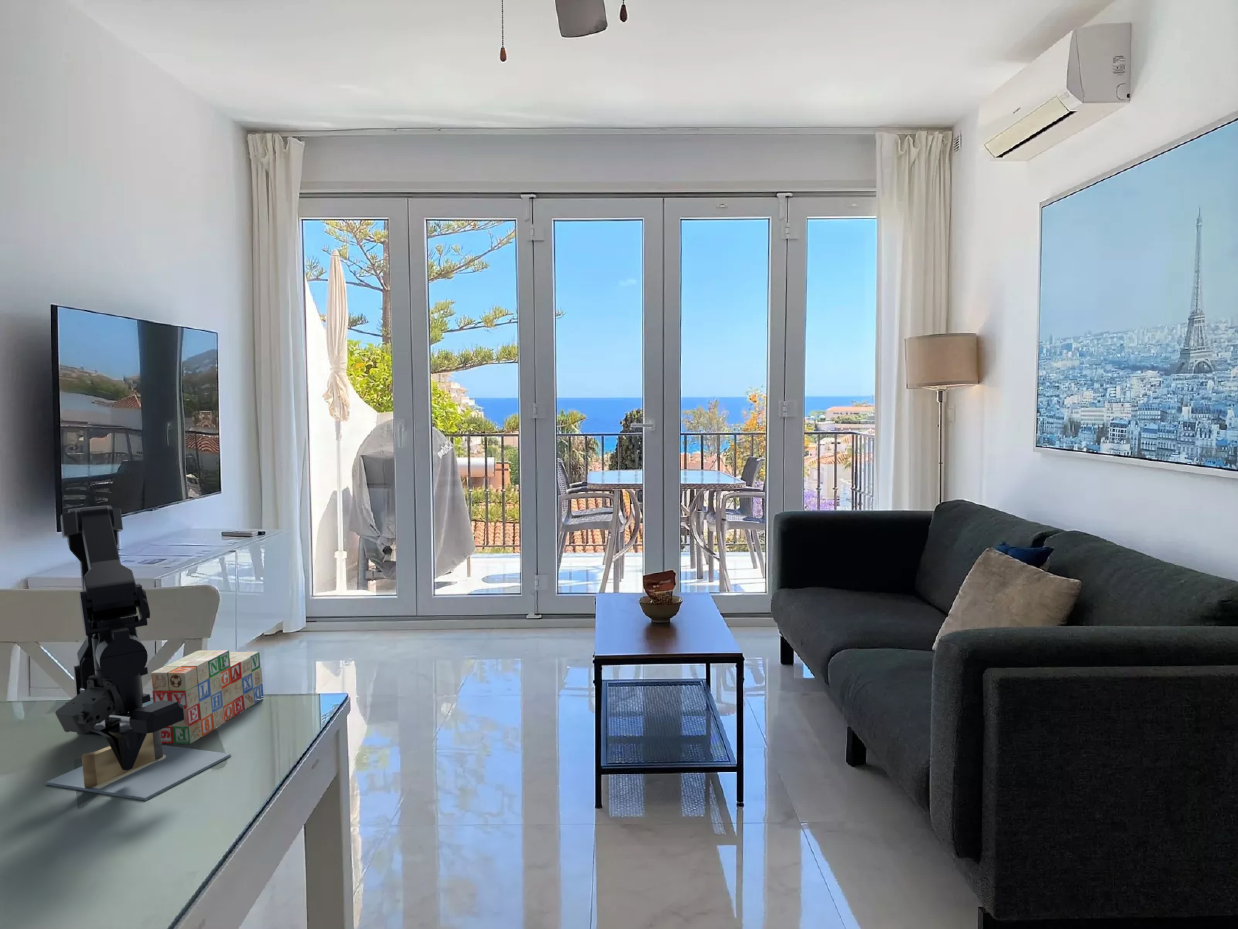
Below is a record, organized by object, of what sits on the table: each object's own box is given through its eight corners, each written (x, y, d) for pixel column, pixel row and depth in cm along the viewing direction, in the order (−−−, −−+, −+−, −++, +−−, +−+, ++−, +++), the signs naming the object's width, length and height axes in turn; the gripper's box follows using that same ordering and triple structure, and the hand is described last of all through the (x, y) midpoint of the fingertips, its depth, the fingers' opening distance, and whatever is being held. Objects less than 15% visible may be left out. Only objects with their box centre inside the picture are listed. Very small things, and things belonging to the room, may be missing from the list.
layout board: (46, 784, 128) (45, 781, 128) (137, 744, 142) (137, 741, 142) (145, 800, 121) (145, 797, 121) (230, 756, 135) (230, 753, 135)
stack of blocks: (234, 699, 163) (229, 635, 163) (264, 699, 162) (259, 635, 162) (156, 744, 142) (149, 671, 142) (190, 744, 141) (184, 671, 140)
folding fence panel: (157, 754, 136) (155, 726, 136) (165, 755, 135) (162, 727, 135) (81, 786, 125) (78, 756, 125) (89, 788, 124) (86, 757, 124)
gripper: (18, 678, 121) (30, 785, 122) (111, 687, 114) (122, 801, 115) (93, 655, 132) (102, 755, 133) (182, 662, 125) (192, 767, 125)
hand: (127, 769), depth 126 cm, fingers closed
